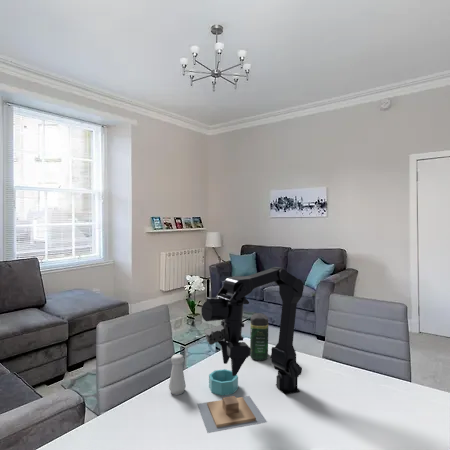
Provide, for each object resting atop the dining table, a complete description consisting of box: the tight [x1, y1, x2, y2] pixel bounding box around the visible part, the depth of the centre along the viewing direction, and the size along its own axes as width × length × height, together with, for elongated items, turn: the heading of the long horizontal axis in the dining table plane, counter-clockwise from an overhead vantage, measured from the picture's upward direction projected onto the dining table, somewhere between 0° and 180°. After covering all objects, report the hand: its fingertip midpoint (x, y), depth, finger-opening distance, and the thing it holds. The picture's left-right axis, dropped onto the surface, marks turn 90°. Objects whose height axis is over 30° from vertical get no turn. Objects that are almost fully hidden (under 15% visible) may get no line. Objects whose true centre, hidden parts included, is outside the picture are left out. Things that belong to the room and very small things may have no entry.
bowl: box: [208, 368, 239, 397], centre depth 115 cm, size 10×10×5 cm
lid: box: [206, 395, 256, 427], centre depth 101 cm, size 12×12×4 cm
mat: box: [196, 395, 268, 434], centre depth 101 cm, size 18×15×1 cm
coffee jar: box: [249, 312, 269, 361], centre depth 144 cm, size 10×8×19 cm
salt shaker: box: [168, 353, 187, 396], centre depth 113 cm, size 6×6×13 cm
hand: (229, 369), depth 101 cm, fingers open, 9 cm apart
